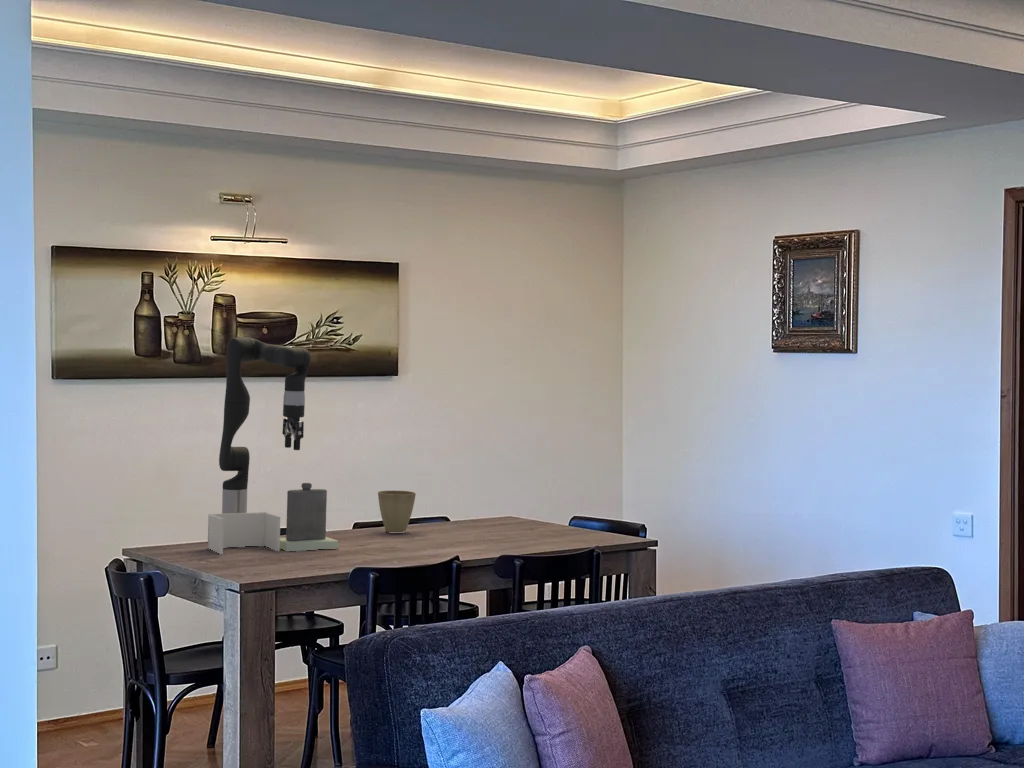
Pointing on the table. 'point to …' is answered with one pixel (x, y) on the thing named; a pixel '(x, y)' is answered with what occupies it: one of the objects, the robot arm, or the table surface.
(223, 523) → the bay
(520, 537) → the table surface
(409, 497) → the plant pot
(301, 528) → the flask
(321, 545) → the stand
